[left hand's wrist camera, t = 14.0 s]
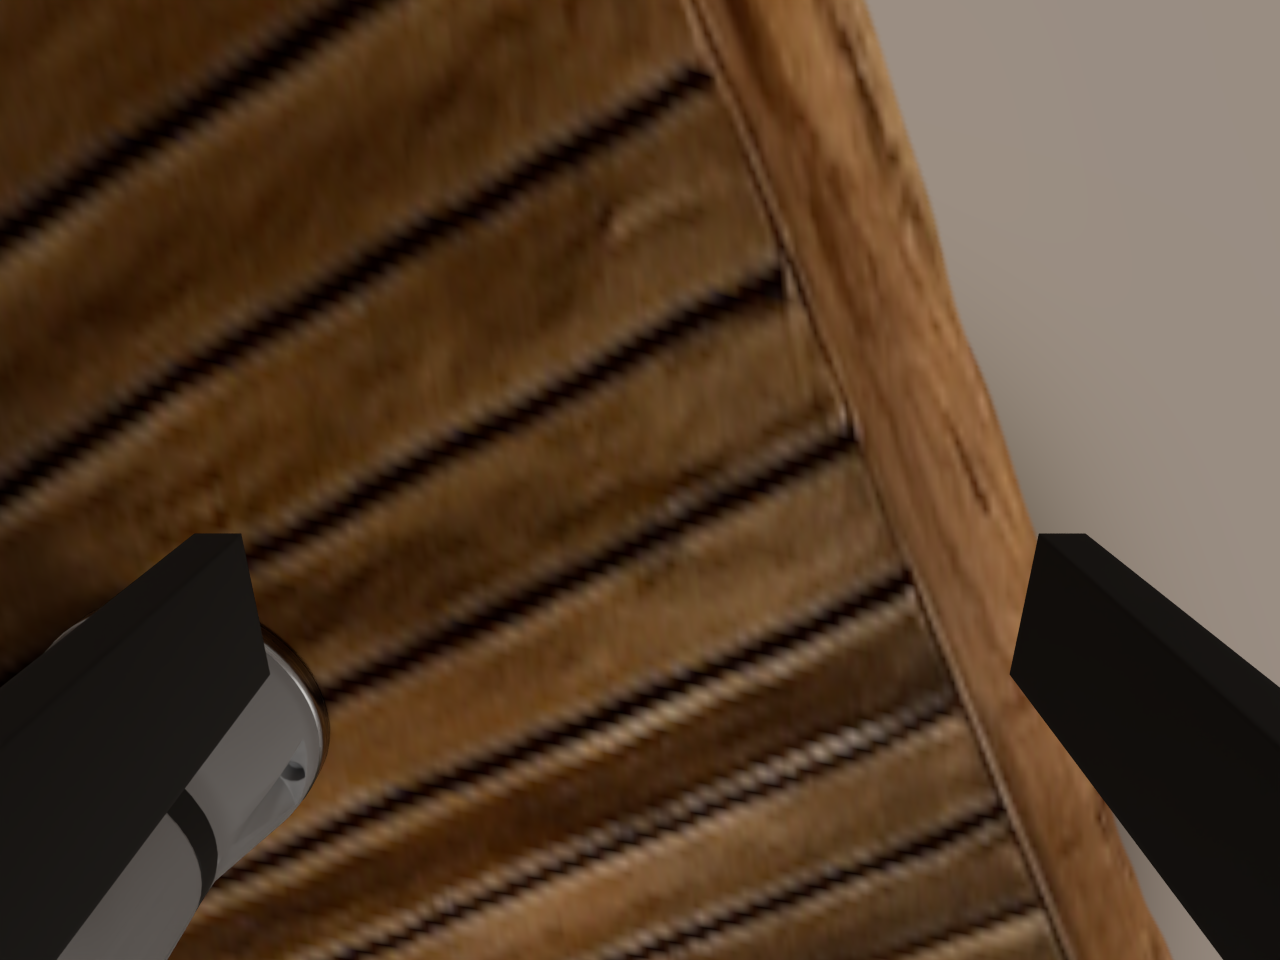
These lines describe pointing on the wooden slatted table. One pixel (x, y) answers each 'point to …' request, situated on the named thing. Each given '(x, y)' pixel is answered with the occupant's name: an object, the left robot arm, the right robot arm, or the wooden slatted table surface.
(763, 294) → the wooden slatted table surface
